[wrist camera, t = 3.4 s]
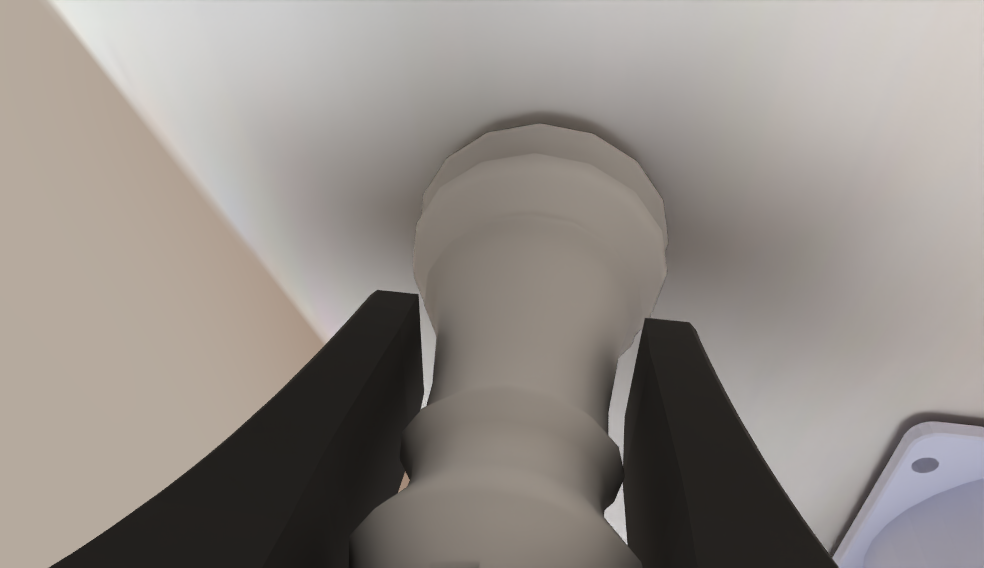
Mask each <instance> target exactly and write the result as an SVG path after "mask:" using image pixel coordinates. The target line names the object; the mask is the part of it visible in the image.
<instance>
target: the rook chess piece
mask: <svg viewBox="0 0 984 568" xmlns="http://www.w3.org/2000/svg"><path fill="white" fill-rule="evenodd" d="M667 245H668V234H667V226H666V218H665V210H664V202H663V199H662V198H661V196H660V195H659V193H658V192H657V190H656V189H655V187H654V186H653V184H652V183H651V181H650V180H649V178H648V177H647V175H646V174H645V172H644V171H643V169H642V168H641V166H640V165H639V163H638V162H637V161H636V160H634V159H633V158H631V157H629V156H628V155H626V154H625V153H623V152H622V151H620V150H618V149H617V148H615V147H614V146H612V145H610V144H609V143H607V142H606V141H604V140H603V139H601V138H599V137H598V136H596V135H595V134H593V133H588V132H582V131H577V130H572V129H567V128H562V127H556V126H551V125H546V124H541V123H538V124H532V125H527V126H521V127H515V128H510V129H504V130H498V131H492V132H487V133H486V134H484V135H482V136H481V137H479V138H478V139H476V140H475V141H473V142H471V143H470V144H468V145H467V146H465V147H463V148H462V149H460V150H459V151H457V152H456V153H454V154H452V155H451V156H449V157H448V158H446V160H445V161H444V163H443V165H442V166H441V168H440V169H439V171H438V172H437V174H436V175H435V177H434V179H433V180H432V182H431V183H430V185H429V186H428V188H427V190H426V191H425V193H424V194H423V203H422V213H421V217H420V219H419V220H418V222H417V224H416V234H415V245H414V256H413V270H414V278H415V281H416V283H417V286H418V288H419V291H420V293H421V296H422V298H423V301H424V306H425V308H426V311H427V313H428V316H429V318H430V321H431V323H432V326H433V328H434V331H435V334H436V349H435V361H434V372H433V384H432V387H431V391H430V395H429V398H428V402H427V406H426V407H424V408H422V409H421V410H420V412H419V413H418V414H417V415H416V416H415V418H414V419H413V420H412V421H411V422H410V423H409V425H408V426H407V427H406V428H405V429H404V431H403V432H402V439H401V449H400V459H399V460H400V462H401V464H402V466H403V468H404V470H405V471H406V473H407V475H408V477H409V479H410V481H409V484H408V486H407V487H406V488H405V489H403V490H402V491H400V492H399V493H397V494H396V495H394V496H393V497H391V498H390V499H388V500H387V501H385V502H384V503H382V504H381V505H379V506H378V507H376V508H375V509H374V510H373V511H372V512H371V513H370V514H369V515H368V516H367V517H366V518H365V519H364V521H363V522H362V523H361V524H360V525H359V526H358V527H357V528H356V529H355V530H354V531H353V533H352V534H351V535H350V538H349V568H642V563H641V561H640V560H639V559H638V558H637V556H636V555H635V554H634V553H633V552H632V550H631V549H630V548H629V547H628V546H627V544H626V543H625V542H624V541H623V540H622V538H621V537H620V536H619V535H618V534H617V532H616V531H615V530H614V529H613V528H612V526H611V525H610V524H609V523H608V522H607V520H606V519H605V518H604V510H605V509H606V508H608V507H609V506H610V505H611V504H612V503H613V502H614V501H615V498H616V496H617V494H618V491H619V489H620V487H621V484H622V482H623V480H624V478H625V474H624V469H623V465H622V460H621V456H620V451H619V447H618V446H617V445H616V444H615V443H614V441H613V440H612V439H611V438H610V437H609V436H608V411H609V406H610V401H611V395H612V390H613V385H614V379H615V374H616V369H617V363H618V358H619V357H620V356H621V355H622V354H623V353H624V352H625V351H626V350H627V349H628V348H629V347H631V345H632V343H633V340H634V337H635V335H636V334H637V333H638V332H639V331H640V330H641V329H642V328H643V325H644V320H645V318H650V317H651V314H652V312H653V309H654V306H655V304H656V301H657V299H658V296H659V293H660V291H661V288H662V285H663V283H664V280H665V278H666V275H667V265H666V258H665V251H666V248H667Z"/></svg>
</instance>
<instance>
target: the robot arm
mask: <svg viewBox="0 0 984 568" xmlns="http://www.w3.org/2000/svg"><path fill="white" fill-rule="evenodd" d="M423 395H424V384H423V366H422V349H421V331H420V313H419V296H418V294H411V293H401V292H392V291H382V290H377V291H375V292H374V293H373V294H371V295H370V296H369V297H368V298H367V300H366V301H365V302H364V303H363V304H362V305H361V306H360V307H359V309H358V310H357V311H356V312H355V313H354V314H353V315H352V316H351V317H350V319H349V320H348V321H347V322H346V323H345V324H344V325H343V326H342V327H341V328H340V330H339V331H338V332H337V333H336V334H335V335H334V336H333V337H332V338H331V339H330V340H329V341H328V342H327V343H326V345H325V346H324V347H323V348H322V349H321V350H320V351H319V352H318V353H317V354H316V355H315V356H314V357H313V358H312V359H311V360H310V361H309V362H308V363H307V364H306V365H305V366H304V367H303V368H302V369H301V370H300V371H299V372H298V373H297V374H296V375H295V376H294V377H293V378H292V379H291V380H290V381H289V382H288V383H287V384H286V385H285V386H284V387H283V388H282V389H281V390H280V391H279V392H278V393H277V394H276V395H275V396H274V397H273V398H272V399H271V400H269V401H268V402H267V403H266V404H265V405H264V406H263V407H262V408H261V409H260V410H258V411H257V412H256V413H255V414H254V415H253V416H252V417H251V418H250V419H249V420H247V421H246V422H245V423H244V424H243V425H242V426H241V427H240V428H239V429H238V430H236V431H235V432H234V433H233V434H232V435H231V436H230V437H228V438H227V439H226V440H225V441H224V442H223V443H221V444H220V445H219V446H218V447H217V448H215V450H213V451H212V452H211V453H209V454H208V455H207V456H206V457H205V458H203V459H202V460H201V461H200V462H198V463H197V464H196V465H195V466H194V467H192V468H191V469H190V470H188V471H187V472H186V473H184V474H183V475H182V476H181V477H179V478H178V479H177V480H175V481H174V482H173V483H172V484H170V485H169V486H168V487H166V488H165V489H164V490H162V491H161V492H160V493H158V494H157V495H156V496H154V497H153V498H151V499H150V500H149V501H147V502H146V503H144V504H143V505H142V506H140V507H139V508H137V509H136V510H135V511H133V512H132V513H130V514H129V515H128V516H126V517H125V518H123V519H122V520H121V521H119V522H118V523H116V524H115V525H114V526H112V527H111V528H109V529H108V530H106V531H105V532H103V533H102V534H100V535H99V536H97V537H96V538H95V539H93V540H91V541H90V542H89V543H87V544H86V545H84V546H82V547H81V548H79V549H78V550H76V551H75V552H73V553H72V554H71V555H68V556H67V557H65V558H64V559H62V560H60V561H59V562H57V563H56V564H54V565H52V566H51V567H49V568H349V538H350V535H351V534H352V533H353V531H354V530H355V529H356V528H357V527H358V526H359V525H360V524H361V523H362V522H363V521H364V519H365V518H366V517H367V516H368V515H369V514H370V513H371V512H372V511H373V510H374V509H375V508H376V507H378V506H379V505H381V504H382V503H384V502H385V501H387V500H388V499H390V498H391V497H393V496H394V495H396V494H397V493H398V490H399V488H400V485H401V481H402V479H403V476H404V473H405V470H404V468H403V466H402V464H401V462H400V460H399V459H400V449H401V439H402V432H403V431H404V429H405V428H406V427H407V426H408V425H409V423H410V422H411V421H412V420H413V419H414V418H415V416H416V415H417V414H418V413H419V412H420V409H421V405H422V400H423ZM623 469H624V474H625V478H624V480H623V491H624V505H625V517H626V530H627V543H628V547H629V548H630V549H631V550H632V552H633V553H634V554H635V555H636V556H637V558H638V559H639V560H640V561H641V563H642V568H984V427H981V426H972V425H963V424H954V423H946V422H924V423H920V424H917V425H915V426H913V427H912V428H910V429H909V430H908V431H907V432H906V433H905V434H904V436H903V438H902V439H901V441H900V443H899V444H898V446H897V448H896V450H895V451H894V453H893V455H892V456H891V458H890V460H889V462H888V463H887V465H886V467H885V468H884V470H883V472H882V474H881V475H880V477H879V479H878V480H877V482H876V484H875V486H874V487H873V489H872V491H871V492H870V494H869V496H868V498H867V499H866V501H865V503H864V504H863V506H862V508H861V510H860V511H859V513H858V515H857V516H856V518H855V520H854V522H853V523H852V525H851V527H850V528H849V530H848V532H847V534H846V535H845V537H844V539H843V540H842V542H841V544H840V545H839V547H838V549H837V551H836V552H835V554H834V556H833V557H831V556H830V555H829V554H828V552H827V551H826V550H825V548H824V547H823V545H822V544H821V543H820V541H819V540H818V539H817V537H816V536H815V534H814V533H813V532H812V530H811V529H810V527H809V526H808V525H807V523H806V522H805V520H804V519H803V517H802V516H801V515H800V513H799V512H798V510H797V509H796V507H795V506H794V504H793V503H792V501H791V500H790V498H789V497H788V495H787V494H786V492H785V491H784V489H783V488H782V486H781V485H780V483H779V482H778V480H777V479H776V477H775V476H774V474H773V472H772V471H771V469H770V468H769V466H768V464H767V463H766V461H765V460H764V458H763V456H762V455H761V453H760V451H759V450H758V448H757V446H756V445H755V443H754V441H753V439H752V438H751V436H750V434H749V433H748V431H747V429H746V428H745V426H744V424H743V423H742V421H741V419H740V417H739V416H738V414H737V412H736V410H735V408H734V407H733V405H732V403H731V401H730V399H729V397H728V396H727V394H726V392H725V390H724V388H723V386H722V384H721V382H720V380H719V378H718V376H717V374H716V372H715V370H714V368H713V366H712V364H711V362H710V360H709V358H708V356H707V354H706V352H705V350H704V348H703V345H702V343H701V341H700V339H699V336H698V334H697V332H696V330H695V328H694V327H693V326H692V325H691V324H690V323H689V322H680V321H670V320H661V319H651V318H645V320H644V325H643V329H642V334H641V339H640V344H639V349H638V354H637V359H636V364H635V369H634V374H633V379H632V383H631V388H630V393H629V398H628V403H627V408H626V413H625V425H624V454H623Z"/></svg>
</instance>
